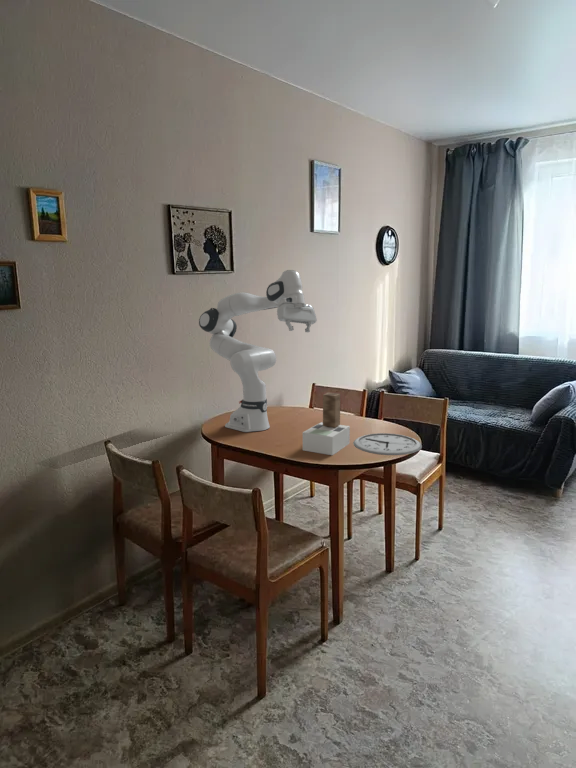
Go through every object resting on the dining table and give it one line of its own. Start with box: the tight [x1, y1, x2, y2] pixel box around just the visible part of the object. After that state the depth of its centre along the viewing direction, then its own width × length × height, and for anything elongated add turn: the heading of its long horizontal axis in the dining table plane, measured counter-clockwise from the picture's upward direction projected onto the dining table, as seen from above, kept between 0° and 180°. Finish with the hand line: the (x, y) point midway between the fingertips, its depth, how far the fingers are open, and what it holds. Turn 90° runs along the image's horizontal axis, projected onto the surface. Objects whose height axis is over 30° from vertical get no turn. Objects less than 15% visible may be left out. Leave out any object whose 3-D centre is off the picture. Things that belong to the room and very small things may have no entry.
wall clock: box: [352, 432, 423, 456], centre depth 236 cm, size 30×2×30 cm
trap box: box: [302, 421, 351, 456], centre depth 232 cm, size 14×18×8 cm
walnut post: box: [322, 392, 341, 427], centre depth 234 cm, size 6×5×14 cm
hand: (299, 331), depth 245 cm, fingers open, 8 cm apart
